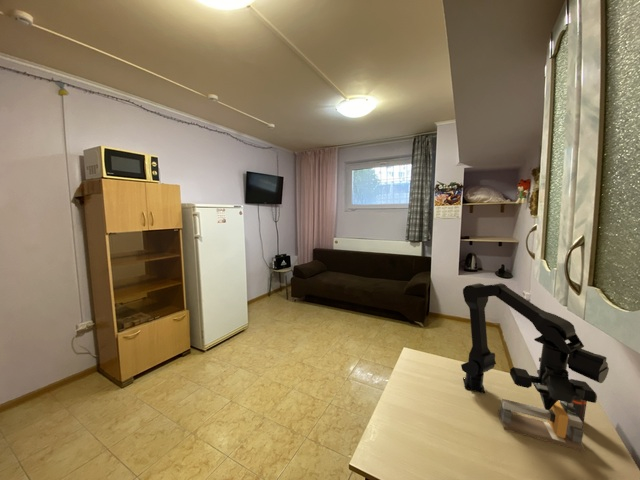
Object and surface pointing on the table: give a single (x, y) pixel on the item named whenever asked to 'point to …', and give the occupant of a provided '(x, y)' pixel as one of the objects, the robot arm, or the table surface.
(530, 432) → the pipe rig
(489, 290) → the robot arm
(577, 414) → the supplement bottle
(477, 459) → the table surface
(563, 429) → the collar
